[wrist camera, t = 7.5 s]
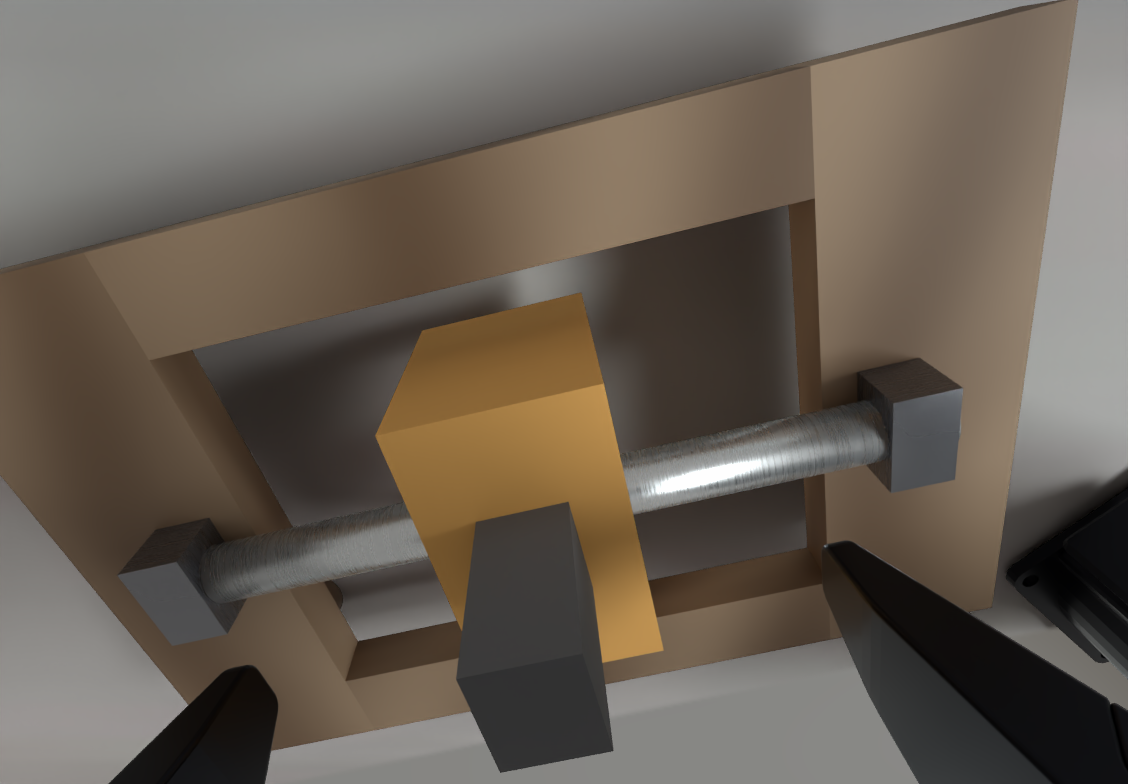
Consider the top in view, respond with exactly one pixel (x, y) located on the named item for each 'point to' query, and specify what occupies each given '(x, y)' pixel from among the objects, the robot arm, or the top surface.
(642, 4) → the top surface
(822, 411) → the silver metal rod
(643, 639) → the yellow block
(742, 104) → the wooden frame with rod
